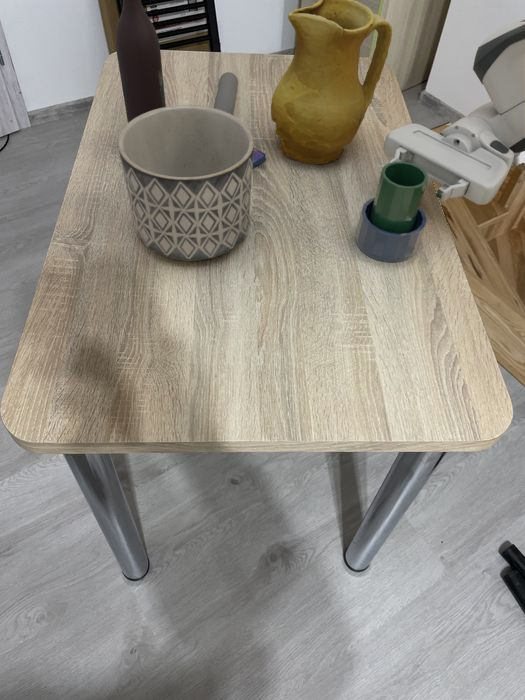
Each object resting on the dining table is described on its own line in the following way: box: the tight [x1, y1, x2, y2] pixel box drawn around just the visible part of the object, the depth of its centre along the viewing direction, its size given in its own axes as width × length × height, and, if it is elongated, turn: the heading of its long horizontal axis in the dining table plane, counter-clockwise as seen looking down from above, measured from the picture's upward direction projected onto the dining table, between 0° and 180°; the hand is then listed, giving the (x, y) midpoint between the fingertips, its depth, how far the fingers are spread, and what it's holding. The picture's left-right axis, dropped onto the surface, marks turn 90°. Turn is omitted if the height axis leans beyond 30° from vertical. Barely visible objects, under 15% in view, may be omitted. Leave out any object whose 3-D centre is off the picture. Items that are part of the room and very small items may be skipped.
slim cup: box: [369, 161, 429, 234], centre depth 85 cm, size 7×7×12 cm
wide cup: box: [355, 197, 428, 263], centre depth 88 cm, size 10×10×6 cm
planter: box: [117, 104, 255, 262], centre depth 83 cm, size 19×19×16 cm
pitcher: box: [270, 0, 393, 165], centre depth 97 cm, size 17×19×25 cm
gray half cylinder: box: [213, 71, 239, 116], centre depth 115 cm, size 4×20×2 cm, turn 178°
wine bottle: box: [114, 0, 167, 124], centre depth 91 cm, size 7×7×30 cm
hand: (415, 181), depth 84 cm, fingers open, 8 cm apart
